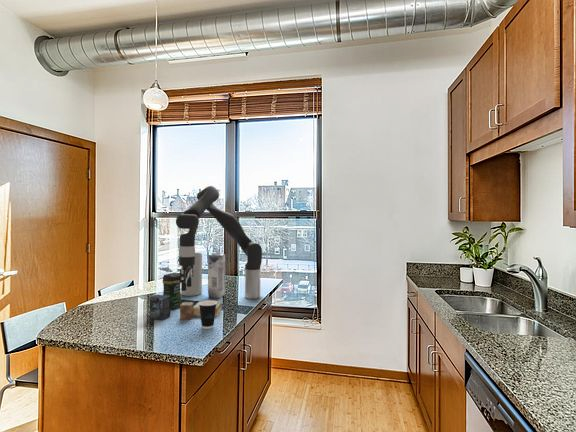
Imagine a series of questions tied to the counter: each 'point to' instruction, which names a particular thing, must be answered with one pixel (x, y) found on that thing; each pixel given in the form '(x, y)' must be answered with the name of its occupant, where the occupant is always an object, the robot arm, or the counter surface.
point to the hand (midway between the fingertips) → (186, 288)
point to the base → (197, 309)
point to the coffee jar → (172, 289)
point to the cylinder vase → (195, 278)
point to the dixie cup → (207, 313)
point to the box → (159, 307)
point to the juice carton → (216, 275)
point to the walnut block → (186, 311)
